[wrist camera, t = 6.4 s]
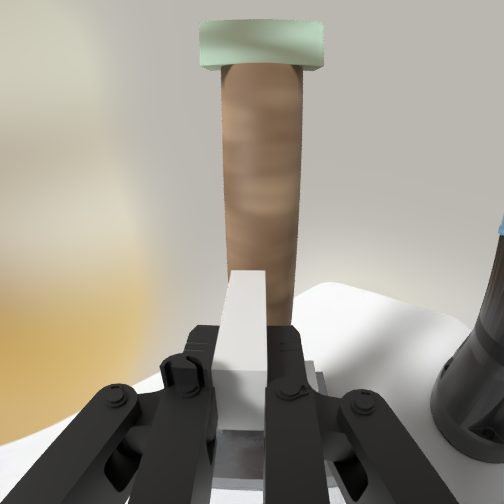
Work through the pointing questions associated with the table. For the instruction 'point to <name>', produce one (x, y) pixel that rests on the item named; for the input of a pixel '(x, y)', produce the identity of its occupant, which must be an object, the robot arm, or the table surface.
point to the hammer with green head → (263, 143)
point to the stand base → (252, 451)
